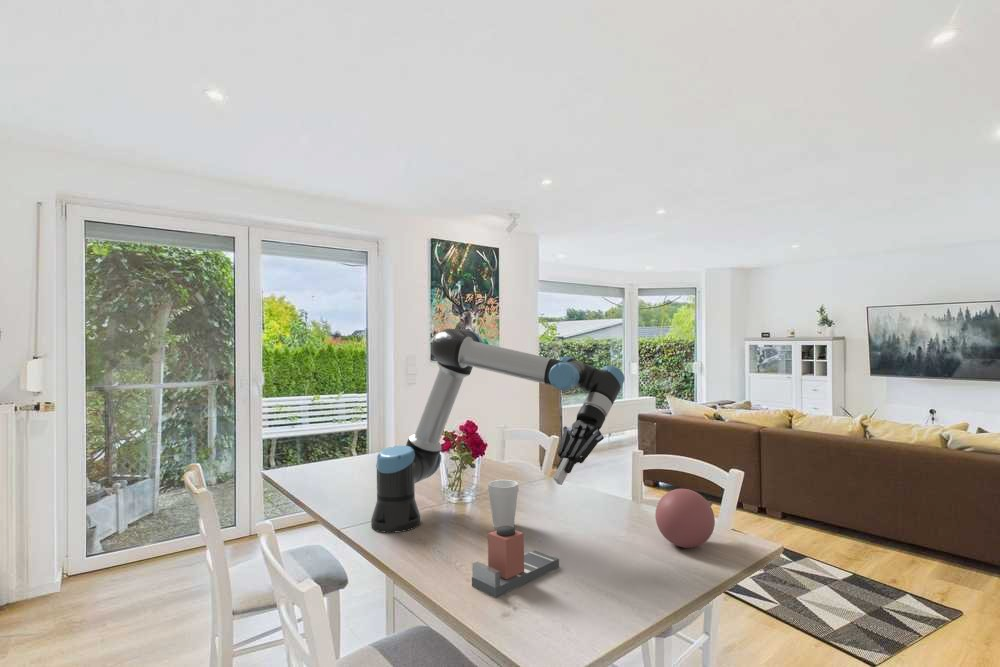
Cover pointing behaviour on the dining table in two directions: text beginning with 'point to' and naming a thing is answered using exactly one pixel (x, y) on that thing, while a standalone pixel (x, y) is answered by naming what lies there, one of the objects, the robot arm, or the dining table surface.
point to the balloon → (685, 518)
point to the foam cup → (503, 501)
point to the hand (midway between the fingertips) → (557, 481)
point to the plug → (506, 551)
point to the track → (496, 585)
